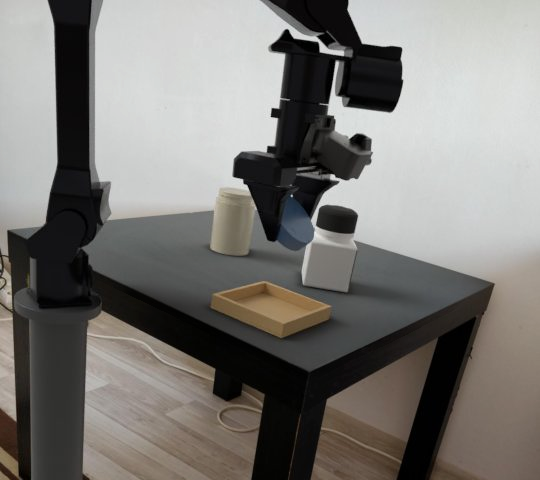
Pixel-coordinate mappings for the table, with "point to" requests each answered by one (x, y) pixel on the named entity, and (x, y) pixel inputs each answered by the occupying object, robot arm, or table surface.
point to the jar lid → (295, 226)
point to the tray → (271, 308)
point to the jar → (232, 222)
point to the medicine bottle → (331, 250)
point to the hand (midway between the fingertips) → (286, 237)
